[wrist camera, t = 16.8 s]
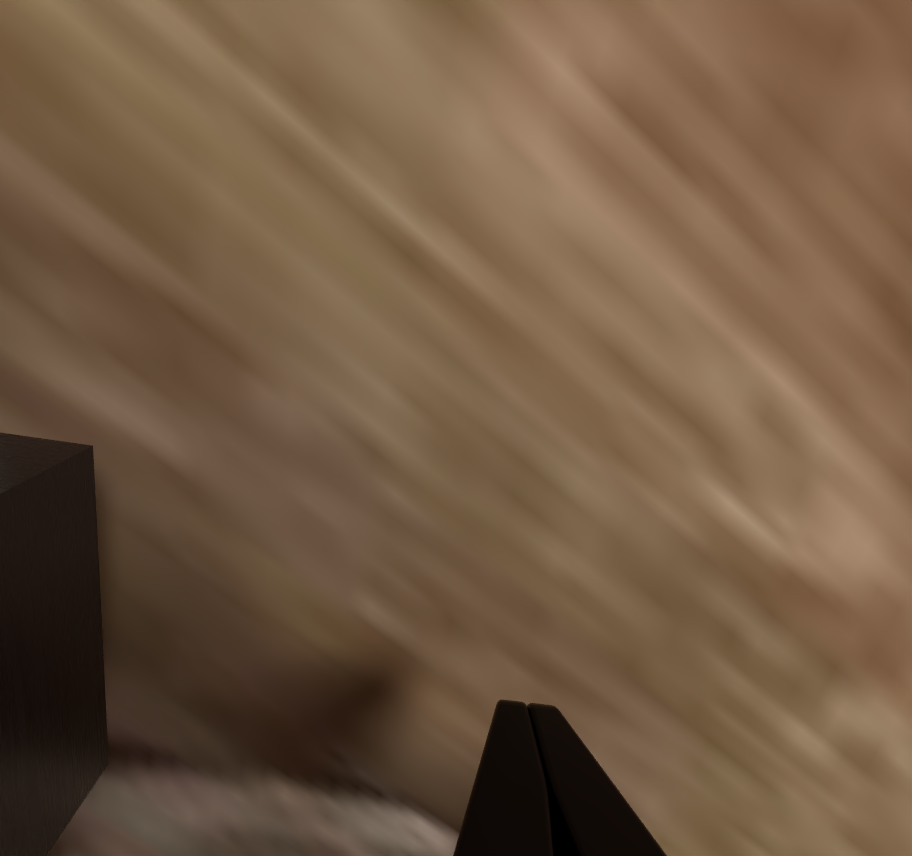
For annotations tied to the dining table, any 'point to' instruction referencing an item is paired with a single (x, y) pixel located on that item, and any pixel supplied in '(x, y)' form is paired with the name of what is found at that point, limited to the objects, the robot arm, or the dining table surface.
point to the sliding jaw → (48, 641)
